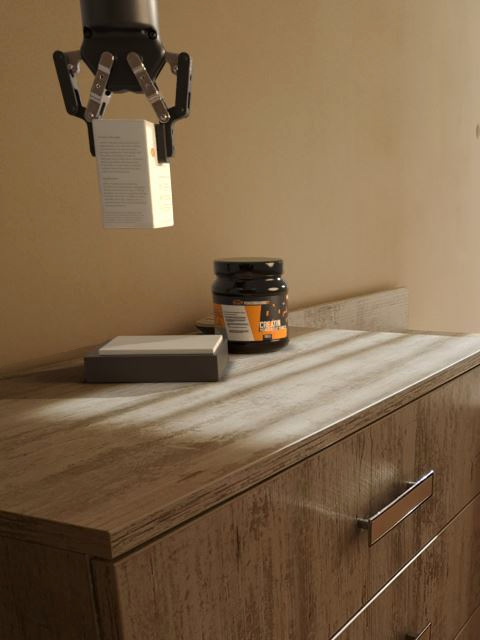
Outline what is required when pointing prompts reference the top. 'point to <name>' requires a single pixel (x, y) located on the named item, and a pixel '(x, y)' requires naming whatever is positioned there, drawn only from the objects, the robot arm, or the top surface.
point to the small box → (131, 175)
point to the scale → (158, 359)
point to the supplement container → (251, 304)
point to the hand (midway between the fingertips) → (133, 162)
